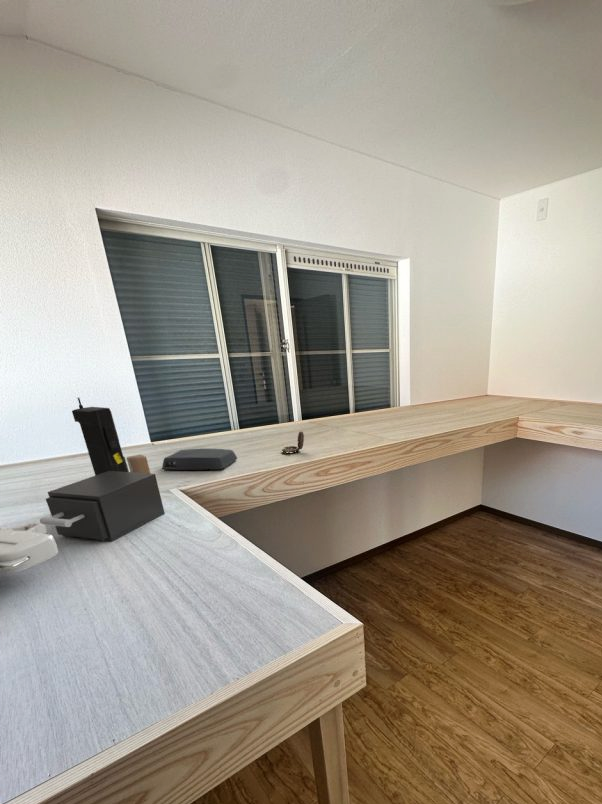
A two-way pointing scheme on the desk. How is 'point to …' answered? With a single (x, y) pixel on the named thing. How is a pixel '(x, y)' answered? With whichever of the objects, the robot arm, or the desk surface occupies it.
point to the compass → (294, 448)
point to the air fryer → (119, 499)
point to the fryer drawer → (76, 517)
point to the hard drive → (199, 459)
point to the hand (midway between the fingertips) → (40, 527)
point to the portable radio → (100, 439)
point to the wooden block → (138, 464)
